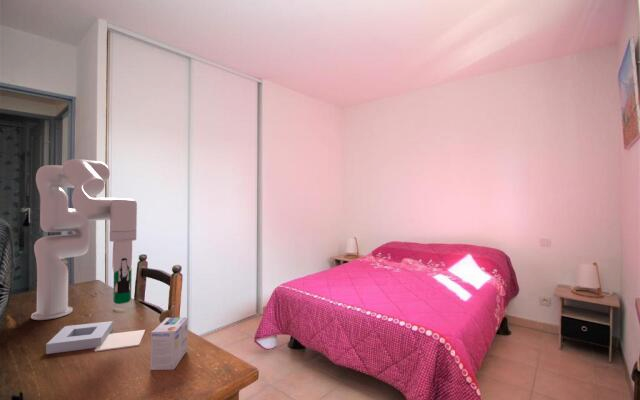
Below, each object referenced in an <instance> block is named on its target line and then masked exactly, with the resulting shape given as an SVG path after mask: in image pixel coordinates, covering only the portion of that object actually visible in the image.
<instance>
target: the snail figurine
mask: <svg viewBox="0 0 640 400" xmlns="http://www.w3.org/2000/svg"><path fill="white" fill-rule="evenodd" d="M172 304H173V305H171V308H170V309H171V310H170V309H165V310H163V311H162V312H161V313H160V315H159V318H158V320H159V322H160V324H161V323H162V322H163V321H164V320H165V319H166V318H175V311H176V309H177V307H176V304H177V302H175V301H173V302H172Z"/></svg>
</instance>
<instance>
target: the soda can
mask: <svg viewBox="0 0 640 400" xmlns="http://www.w3.org/2000/svg"><path fill="white" fill-rule="evenodd" d="M132 269H133V267H131V270H130V271H129V292H128V293H121V294H118V293H117V281H119V280H118V271H116V273H115V272H113V286H112V287H113V288H112V289H113V291H112V292H113V294H112V295H113V296H112V301H113V304H116V305H123V304H127V303H130V302H131V301H132V279H133V277H132V275H133V273H132V271H133V270H132ZM120 271H122V269H121V270H120ZM121 274H122V273H121Z"/></svg>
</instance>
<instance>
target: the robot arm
mask: <svg viewBox="0 0 640 400" xmlns="http://www.w3.org/2000/svg"><path fill="white" fill-rule="evenodd" d="M110 174H111V173H110V169H109V167H108V165H107V164H106V163H104V162H102V161H98V160H91V159H90V160H89V159H81V158H80V159H79V158H73V159H69V160H66V161H65V162H64V163H63V164H62V165H58V164H57V165H56V164H51V165H50V164H47V165H43V166H41V167H39V168H38V169H37V171H36V175H35V183H36V188H37V190H38V193H39V196H40V197H39V199H40V207H39V213H40V214H39V224H40V229H41V230H42V231H43V232H46V233H63V232H72V233H71V234H58V235H57V234H56V235H45V236H42V237H41V238H38V239H37V240H36V241H35V242H34V245H33V251H34V255H35V259H36V311H35V312H32V313H31V316H30V318H31V320H34V321H35V320H36V321H44V320H52V319H58V318H61V317H64V316H67V315H70V314H71V313H73V311H74V310H73V307H71V306H69V268H68V266H67V265H66V264H65V263H64V262H63V260H62V259H67V258H74V257H76V258H77V257H81V256H84V255H86V254H87V253H88V252H89V247H90V237H91V236H90V233H91V232H90V231H91V228H90V227H91V221H109V242H112V267H111V269H112V271H113V273H114V272H115V273H116V271H118V280H119V281H117V293H118V294H121V293H128V292H129V271H130V270H131V268H132V264H133V261H132V260H133V242H134V241H137V231H138V230H137V224H138V222H137V219H138V217H137V214H138V212H137V210H138V203H137V201H136V200H135V199H132V198H120V197H96V196H97V195H100V194H101V193H102V192H103V190H104V189H105V183H106V182H107V181H108V179H109V177H110ZM63 188H72V189H74V190H73V191H72V194H71V195H72V196H71V203H72V207H70V208H69V196H68V194H67V193H66V192H65V190H64V189H63ZM121 269H122V271H120V270H121ZM121 273H122V274H121Z"/></svg>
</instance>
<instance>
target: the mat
mask: <svg viewBox="0 0 640 400" xmlns="http://www.w3.org/2000/svg"><path fill="white" fill-rule="evenodd" d="M145 332H146V329H139V330H131V331H124V332H116V333H115V332H114V333H110V334H109V335H108V336H107V338H106V339H105V341H104V342H103V344H102V345H101V346H97V347H96V348H94V351H93V352H95V353H96V352H102V351H103V352H104V351H109V350H117V349H118V350H119V349H123V348H124V349H125V348H131V347H132V348H133V347H139V346H140V345H141V342H142V340H143V337H144V335H145Z"/></svg>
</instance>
